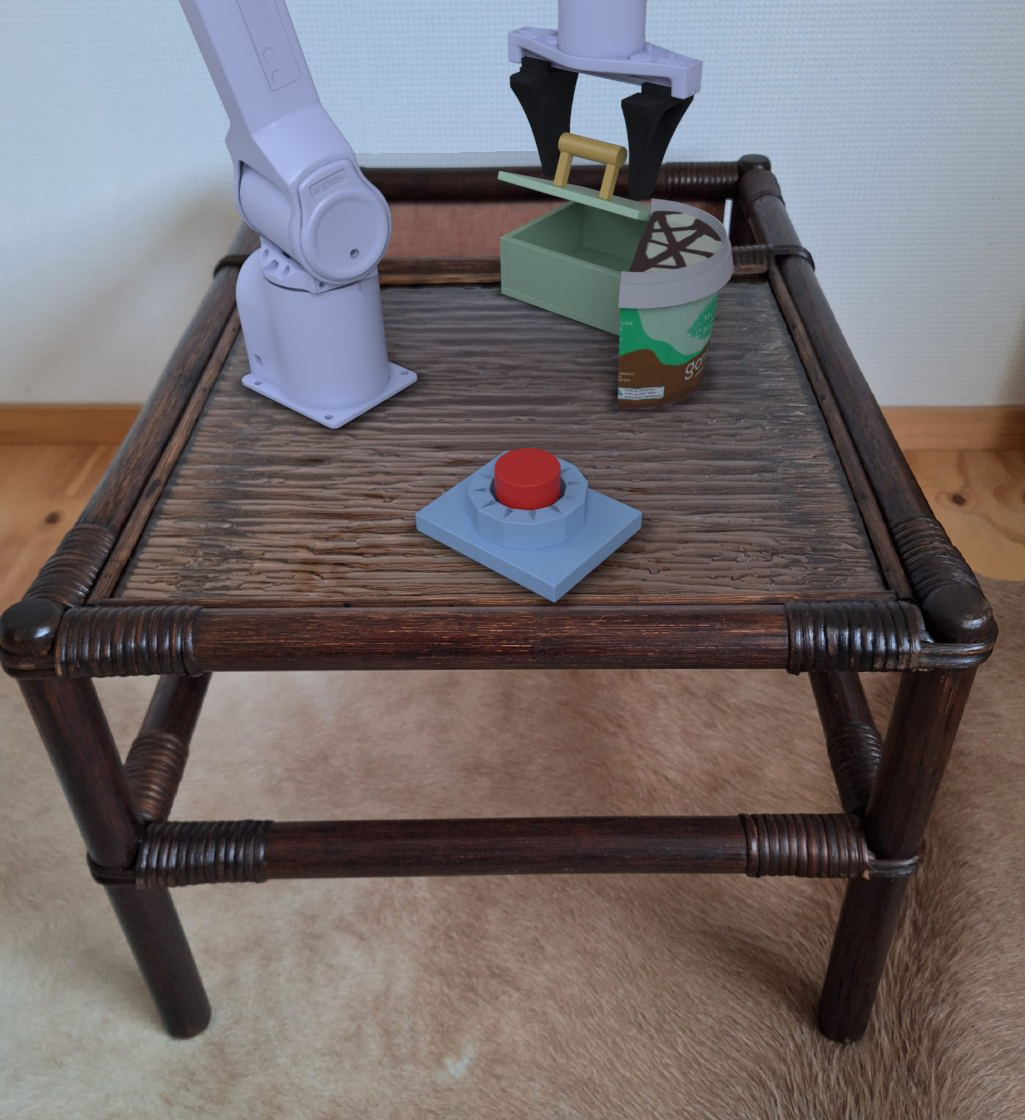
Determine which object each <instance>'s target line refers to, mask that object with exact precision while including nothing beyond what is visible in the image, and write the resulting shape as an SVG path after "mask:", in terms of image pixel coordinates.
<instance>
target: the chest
mask: <svg viewBox="0 0 1025 1120" xmlns="http://www.w3.org/2000/svg"><path fill="white" fill-rule="evenodd" d="M648 224H649V222H648V221H642V220H636V219H632V218H629V217H626V216H622V215H619V214H615V213H612V212H608V211H605V210H601V209H598V208H595V207H591V206H588V205H584V204H581V203H577V202H574V201H570V200H568V201H567V202H565V203H563V204H561V205H559V206H557V207H556V208H553V209H551V210H549V211H548V212H546V213H543V214H542V215H540V216H538V217H536V218H534V219H532V220H531V221H528V222H527V223H525V224H522V225H521V226H519V227H517V228H515V229H513V230H511V231H509V232H508V233H505V234H504V235H501V236H500V237H499V260H500V261H499V262H500V286H501V287H500V288H501V290H500V291H501V292H500V293H501V295H504V296H506V297H510V298H512V299H515V300H518V301H521V302H523V303H527V304H529V305H532V306H535V307H538V308H540V309H542V310H546V311H548V312H551V313H553V314H557V315H560V316H562V317H565V318H567V319H570V320H571V319H572V320H573V321H576V322H579V323H582V324H585V325H587V326H591V327H592V328H595V329H599V330H600V331H604V332H606V333H610V334H612V335H615V336H619V335H620V308H618V305H619V292H620V283H621V272H622V271H624V272H629V270H630V267H631V265H632V262H633V259H634V256H635V254H636V251H637V248H638V244H639V241H640V239H641V237H642V236H643V234H644V232H645V230H646V228H647V226H648Z"/></svg>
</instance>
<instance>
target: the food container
mask: <svg viewBox="0 0 1025 1120" xmlns="http://www.w3.org/2000/svg"><path fill="white" fill-rule="evenodd" d="M650 206H651V215H650V221H649V224H648V226H647V228H646V230H645V232H644V234H643V236H642V237H641V239H640V241H639V244H638V248H637V251H636V254H635V256H634V259H633V262H632V265H631V267H630V270H629V272H624V271H622V272H621V283H620V292H619V305H618V308H620V335H619V338H618V339H619V340H618V378H617V381H618V382H617V409H623V410H624V409H625V410H646V409H657V408H661V407H665V406H670V405H674V404H677V403H680V402H682V401H683V400H685V399H687V398H689V397H690V396H693V395H694V394H695V393H696V392H697V390H698V389H699V388H700V387H701V385H702V383H703V379H704V376H705V375H704V374H705V369H706V365H707V359H708V353H709V348H710V342H711V336H712V332H713V326H714V320H715V315H716V310H717V305H718V301H719V300H718V299H719V294H720V290H721V289H722V288H723V287H724V286H726V285H727V284H728V282H729V281H730V280H731V278H732V275H733V274H734V259H733V250H732V243H731V240H730V237H729V236H728V232H727V229H726V227H725V226H724V224H723V223H722V222H721V221H720V220H719V219H718V218H717V217H715V216H714V215H712V214H711V213H709V212H707V211H705V210H703V209H700V208H699V207H696V206H692V205H690V204H686V203H682V202H679V201H674V200H667V199H662V198H661V199H660V198H651V203H650Z"/></svg>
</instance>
